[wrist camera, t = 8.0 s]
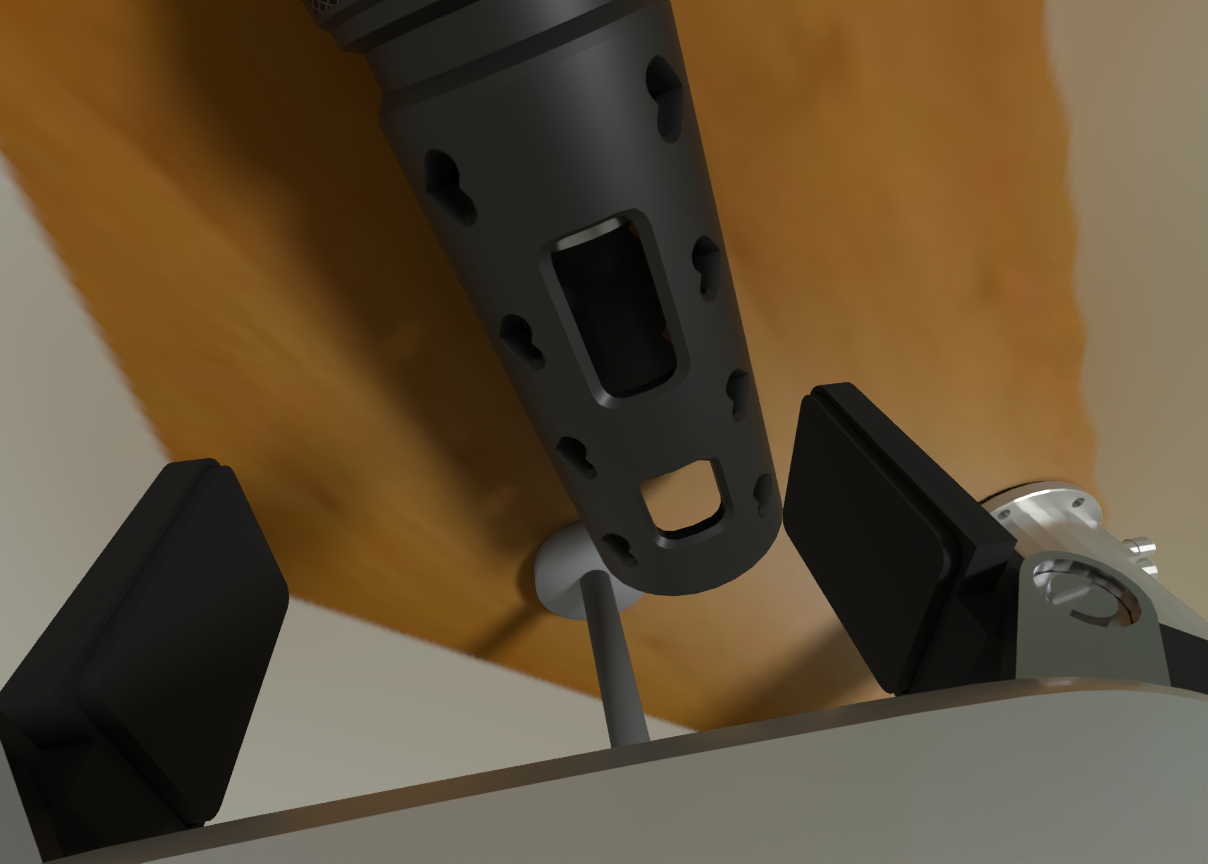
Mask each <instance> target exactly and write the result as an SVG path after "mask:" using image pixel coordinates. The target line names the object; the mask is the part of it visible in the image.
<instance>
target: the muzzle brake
mask: <svg viewBox="0 0 1208 864" xmlns="http://www.w3.org/2000/svg"><path fill="white" fill-rule="evenodd" d="M303 1H304V3H305V5H306V7H307V9H308V11H309V13H310V15H311V16H312V18H313V20H314V22H315V24H316V25H317V26H318V28H319V29H322V30H324V31H327V32H329V33H331V34H332V36H333V38H334V39H335V41H336V43H337V45H338V47H339V49H340V50H344V51H350V52H356V53H361V54H364V55H365V57H366V59H367V61H368V63H369V65H370V67H371V69H372V71H373V73H374V75H375V77H376V79H377V81H378V83H379V85H380V87H381V89H382V91H383V93H384V95H383V99H382V102H381V106H380V110H379V113H378V114H379V123H380V127H381V129H382V130H383V132H384V134H385V136H386V138H387V140H388V142H389V144H390V146H391V148H392V150H393V152H394V154H395V156H396V158H397V160H398V162H399V164H400V166H401V168H402V170H403V172H404V174H405V176H406V177H407V179H408V181H409V183H410V185H411V187H412V189H413V191H414V193H415V195H416V197H417V199H418V201H419V203H420V205H421V207H422V209H423V211H424V213H425V215H426V217H427V219H428V221H429V223H430V224H431V226H432V228H433V230H434V232H435V234H436V236H437V238H438V240H439V242H440V244H441V246H442V248H443V250H444V252H445V254H446V256H447V258H448V260H449V262H450V264H451V266H452V268H453V270H454V271H455V273H456V275H457V277H458V279H459V281H460V283H461V285H462V287H463V289H464V291H465V293H466V295H467V297H468V299H469V301H470V303H471V305H472V307H473V309H474V311H475V313H476V315H477V316H478V318H479V320H480V322H481V324H482V326H483V328H484V330H485V332H486V334H487V336H488V338H489V340H490V342H491V344H492V346H493V348H494V350H495V352H496V354H497V356H498V358H499V360H500V362H501V363H502V365H503V367H504V369H505V371H506V373H507V375H508V377H509V379H510V381H511V383H512V385H513V387H514V389H515V391H516V393H517V395H518V397H519V399H520V401H521V403H522V405H523V407H524V409H525V410H526V412H527V414H528V416H529V418H530V420H531V422H532V424H533V426H534V428H535V430H536V432H537V434H538V436H539V438H540V440H541V442H542V444H543V446H544V448H545V450H546V452H547V454H548V456H549V457H550V459H551V461H552V463H553V465H554V467H555V469H556V471H557V473H558V475H559V477H560V479H561V481H562V483H563V485H564V487H565V489H566V491H567V493H568V495H569V497H570V499H571V501H572V503H573V504H574V506H575V508H576V510H577V512H578V514H579V516H580V518H581V520H582V522H583V524H584V526H585V528H586V530H587V532H588V534H589V536H590V538H591V540H592V542H593V544H594V546H595V548H596V550H597V551H598V553H599V555H600V557H601V559H602V561H603V563H604V564H605V566H606V567H607V568H608V570H609V571H610V572H611V574H612V575H613V576H615V577H616V578H617V579H618V580H619V581H621V582H622V583H623V584H625V585H627V586H629V587H631V588H633V589H636V590H638V591H641V592H645V593H650V594H654V595H666V596H680V595H689V594H697V593H700V592H703V591H707V590H710V589H714V588H717V587H719V586H721V585H723V584H726V583H728V582H730V581H732V580H734V579H736V578H737V577H739V576H740V575H742V574H743V573H745V572H746V571H748V570H749V569H750V568H752V567H753V566H754V565H755V564H756V563H757V562H758V561H759V560H760V559H761V558H762V557H763V556H764V555H765V554H766V553H767V551H768V550H769V548H770V547H771V545H772V544H773V542H774V541H775V539H776V537H777V534H778V532H779V529H780V526H781V523H782V511H783V508H782V502H781V496H780V492H779V487H778V483H777V478H776V474H775V469H774V465H773V460H772V456H771V451H770V447H769V442H768V438H767V433H766V429H765V424H764V420H763V415H762V411H761V406H760V402H759V397H758V393H757V388H756V384H755V379H754V375H753V370H752V366H751V361H750V357H749V352H748V348H747V343H746V339H745V334H744V330H743V325H742V321H741V316H740V312H739V307H738V303H737V298H736V294H735V289H734V285H733V280H732V276H731V271H730V267H729V262H728V258H727V253H726V249H725V244H724V240H723V235H722V231H721V226H720V222H719V217H718V213H717V208H716V204H715V200H714V195H713V191H712V186H711V182H710V177H709V173H708V168H707V164H706V159H705V155H704V150H703V146H702V141H701V137H700V132H699V128H698V123H697V119H696V114H695V110H694V105H693V101H692V96H691V92H690V87H689V83H688V78H687V74H686V69H685V65H684V60H683V56H682V51H681V47H680V42H679V38H678V33H677V29H676V24H675V20H674V15H673V11H672V6H671V2H670V1H669V0H303ZM697 460H707V461H710V463H711V466H712V470H713V473H714V476H715V480H716V483H717V486H718V489H719V493H720V496H721V504H720V506H719V509H718V511H717V512H716V513H715V514H714V515H713V516H712V517H709V518H707V519H705V520H703V521H701V522H699V523H697V524H695V525H693V526H689V527H686V528H682V529H679V530H675V531H664V530H662V529H660V528H658V527H657V526H656V525H655V524H654V522H653V520H652V518H651V515H650V513H649V510H648V508H647V506H646V503H645V501H644V498H643V496H642V493H641V491H640V486H641V485H642V484H643V483H644V482H645V481H646V480H648V479H651V478H654V477H657V476H660V475H663V474H666V473H669V472H673V471H676V470H678V469H680V468H682V467H684V466H686V465H689V464H691V463H693V462H695V461H697Z"/></svg>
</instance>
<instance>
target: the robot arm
mask: <svg viewBox="0 0 1208 864" xmlns="http://www.w3.org/2000/svg"><path fill="white" fill-rule="evenodd" d="M782 516H783V524H784V528H785V530H786V532H787V534H788V536H789V538H790V539H791V541H792V543H793V544H794V546H795V548H796V549H797V551H798V552H799V554H800V556H801V557H802V559H803V561H804V562H805V564H806V566H807V567H808V569H809V570H810V572H811V574H812V575H813V577H814V579H815V580H816V582H817V584H818V585H819V587H820V588H821V590H822V592H823V593H824V595H825V597H826V598H827V600H828V602H829V603H830V605H831V606H832V608H833V610H834V611H835V613H836V615H837V616H838V618H839V620H840V621H841V623H842V624H843V626H844V628H845V629H846V631H847V633H848V634H849V636H850V638H851V639H852V641H853V643H854V644H855V646H856V647H857V649H858V651H859V652H860V654H861V656H862V657H863V659H864V661H865V662H866V664H867V665H868V667H869V669H870V670H871V672H872V674H873V675H874V677H875V679H876V680H877V682H878V683H879V685H880V686H881V688H882V689H883V690H884V691H885V692H887V693H889V694H891V693H894V694H895V696H896V697H892V698H886V699H880V700H874V701H867V702H862V703H856V704H851V705H845V706H840V707H834V708H829V709H823V710H818V711H812V712H807V713H801V714H796V715H790V716H785V717H779V718H774V719H768V720H763V721H757V722H752V723H746V724H741V725H735V726H730V727H724V728H719V729H713V730H708V731H702V732H697V733H691V734H686V735H680V736H675V737H670V738H664V739H659V740H654V741H648V742H643V743H637V744H632V745H627V746H621V747H616V748H611V749H605V750H600V751H595V752H589V753H584V754H579V755H573V756H568V757H563V758H558V759H552V760H547V761H541V762H536V763H530V764H525V765H520V766H515V767H509V768H505V769H499V770H493V771H489V772H483V773H477V774H472V775H467V776H461V777H456V778H451V779H446V780H440V781H435V782H430V783H425V784H420V785H415V786H409V787H404V788H399V789H394V790H388V791H383V792H378V793H373V794H368V795H363V796H357V797H353V798H347V799H342V800H337V801H331V802H326V803H321V804H316V805H310V806H306V807H300V808H295V809H290V810H285V811H280V812H274V813H269V814H264V815H259V816H253V817H248V818H243V819H239V820H234V821H229V822H224V823H219V824H214V825H210V826H205V827H204V824H205V821H210V820H212V819H213V818H214V817H215V816H216V814H217V813H218V811H219V809H220V807H221V804H222V801H223V798H224V795H225V792H226V790H227V787H228V784H229V781H230V778H231V775H232V772H233V769H234V766H235V763H236V760H237V757H238V754H239V751H240V748H241V745H242V742H243V739H244V736H245V733H246V730H247V727H248V724H249V721H250V718H251V715H252V712H253V709H254V706H255V703H256V700H257V697H258V694H259V692H260V688H261V686H262V682H263V679H264V677H265V674H266V671H267V668H268V665H269V662H270V659H271V656H272V653H273V650H274V647H275V644H276V641H277V638H278V635H279V632H280V629H281V626H282V623H283V620H284V617H285V614H286V611H287V608H288V604H289V592H288V587H287V584H286V582H285V579H284V577H283V575H282V573H281V571H280V569H279V567H278V565H277V563H276V560H275V558H274V556H273V554H272V552H271V550H270V548H269V546H268V543H267V541H266V539H265V537H264V535H263V533H262V531H261V529H260V526H259V524H258V522H257V520H256V518H255V516H254V514H253V512H252V509H251V507H250V505H249V503H248V501H247V499H246V497H245V495H244V492H243V490H242V488H241V486H240V484H239V482H238V480H237V478H236V475H235V473H234V472H233V470H232V469H231V468H230V467H229V466H226V465H225V466H220V464H219V463H218V462H217V461H216V460H215V459H212V458H206V459H197V460H189V461H181V462H173V463H169V464H167V465H166V466H165V467H164V468H163V470H162V471H161V472H160V473H159V475H158V476H157V478H156V479H155V480H154V482H153V483H152V484H151V486H150V487H149V489H148V490H147V491H146V493H145V494H144V495H143V497H142V498H141V499H140V501H139V502H138V504H137V505H136V506H135V508H134V509H133V511H132V512H131V513H130V515H129V516H128V517H127V519H126V520H125V521H124V523H123V524H122V525H121V527H120V528H119V530H118V531H117V532H116V534H115V535H114V536H113V538H112V539H111V541H110V542H109V543H108V545H107V546H106V548H105V549H104V550H103V552H102V553H101V554H100V556H99V557H98V558H97V560H96V561H95V562H94V564H93V565H92V567H91V568H90V569H89V571H88V572H87V573H86V575H85V576H84V578H83V579H82V580H81V582H80V583H79V584H78V586H77V587H76V589H75V590H74V591H73V593H72V594H71V595H70V597H69V598H68V599H67V601H66V602H65V604H64V605H63V607H62V608H61V609H60V610H59V612H58V613H57V615H56V616H55V617H54V619H53V620H52V621H51V623H50V624H49V625H48V627H47V628H46V630H45V631H44V632H43V634H42V635H41V636H40V638H39V639H38V641H37V642H36V643H35V645H34V646H33V647H32V649H31V650H30V651H29V653H28V654H27V656H26V657H25V658H24V660H23V661H22V662H21V664H20V665H19V667H18V668H17V669H16V671H15V672H14V673H13V675H12V676H11V677H10V679H9V680H8V682H7V683H6V684H5V686H4V687H3V689H2V690H1V691H0V864H1208V622H1207V621H1206V620H1205V619H1203V618H1202V617H1201V616H1200V615H1198V614H1197V613H1196V612H1195V611H1194V610H1192V609H1191V608H1190V607H1189V606H1188V605H1186V604H1185V603H1184V602H1183V601H1181V600H1180V599H1179V598H1178V597H1176V596H1175V595H1174V594H1173V593H1171V592H1170V591H1169V590H1168V589H1167V588H1165V587H1164V586H1163V585H1162V584H1160V583H1159V582H1158V581H1157V580H1156V579H1157V576H1158V571H1157V568H1156V566H1155V565H1154V564H1153V562H1152V561H1151V560H1149V559H1147V558H1146V557H1151V556H1152V555H1154V554H1155V551H1156V547H1155V544H1154V543H1153V542H1152V541H1151V540H1150V539H1149V538H1146V537H1138V538H1132V539H1126V540H1124V541H1120V540H1118V539H1117V538H1116V537H1115V536H1113V535H1112V534H1111V533H1109V532H1108V531H1107V530H1106V529H1105V528H1103V527H1102V511H1101V508H1100V506H1099V504H1098V502H1097V500H1095V499H1094V498H1093V497H1092V496H1091V495H1089V494H1088V493H1087V492H1086V491H1084V490H1083V489H1081V488H1080V487H1078V486H1076V485H1074V484H1071V483H1066V482H1062V481H1045V482H1039V483H1032V484H1028V485H1024V486H1021V487H1018V488H1014V489H1012V490H1009V491H1007V492H1005V493H1002V494H1000V495H998V496H996V497H994V498H992V499H990V500H989V501H987V502H985V503H983V504H981V505H980V504H979V503H978V502H977V501H976V500H975V499H974V498H973V497H972V496H971V495H970V494H968V493H967V492H966V491H965V490H964V489H963V488H962V487H961V486H960V485H959V484H958V483H957V482H956V481H955V480H954V479H953V478H952V477H950V476H949V475H948V474H947V473H946V472H945V471H944V470H943V469H942V468H941V467H940V466H939V465H938V464H937V463H936V462H935V461H934V460H933V459H931V458H930V457H929V456H928V455H927V454H926V453H925V452H924V451H923V450H922V449H921V448H920V447H919V446H918V445H917V444H916V443H915V442H913V441H912V440H911V439H910V438H909V437H908V436H907V435H906V434H905V433H904V432H903V431H902V430H901V429H900V428H899V427H898V426H897V425H895V424H894V423H893V422H892V421H891V420H890V419H889V418H888V417H887V416H886V415H885V414H884V413H883V412H882V411H881V410H880V409H879V408H877V407H876V406H875V405H874V404H873V403H872V402H871V401H870V400H869V399H868V398H867V397H866V396H865V395H864V394H863V393H862V392H861V391H860V390H858V389H857V388H856V387H855V386H854V385H853V384H851V383H850V382H844V383H835V384H827V385H818V386H816V387H814V388H813V389H812V391H811V393H810V395H806V396H805V397H804V398H803V399H802V402H801V407H800V413H799V419H798V425H797V431H796V437H795V442H794V448H793V454H792V460H791V466H790V472H789V478H788V484H787V490H786V496H785V501H784V507H783V515H782Z"/></svg>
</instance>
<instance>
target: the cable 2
mask: <svg viewBox="0 0 1208 864" xmlns="http://www.w3.org/2000/svg"><path fill="white" fill-rule="evenodd" d="M534 576H535V585H536V592H537V596H538V598H539V600H540V601H541V603H542V604H543V605H544V606H545V607H546V608H547V609H548V610H549V611H551V612H552V613H554V614H556V615H558V616H561V617H564V618H568V619H574V620H587V623H588V628H589V633H590V638H591V644H592V649H593V654H594V659H595V665H596V670H597V675H598V680H599V686H600V691H601V696H602V701H603V706H604V712H605V717H606V722H607V727H608V732H609V738H610V743H611V748H616V747H621V746H627V745H632V744H637V743H643V742H648V741H650V738H649V735H648V730H647V726H646V722H645V718H644V714H643V710H642V706H641V702H640V697H639V693H638V689H637V685H636V681H635V677H634V673H633V669H632V665H631V661H630V657H629V653H628V649H627V645H626V641H625V637H624V633H623V629H622V625H621V621H620V617H619V612H621V611H623V610H625V609H626V608H628V607H629V606H631V605H632V604H634V603H635V602H636V601H637V600H638V599H639V598H640V597H641V596H642V595H643V594H644V593H645V592H641V591H638V590H636V589H633V588H631V587H629V586H627V585H625V584H623V583H622V582H621V581H619V580H618V579H617V578H616V577H615V576H613V575H612V574H611V572H610V571H609V570H608V568H607V567H606V566H605V564H604V563H603V561H602V559H601V557H600V555H599V553H598V551H597V550H596V548H595V546H594V544H593V542H592V540H591V538H590V536H589V534H588V532H587V530H586V528H585V526H584V524H583V522H582V521H579V522H576V523H573V524H570V525H568V526H565V527H563V528H562V529H560V530H558V531H557V532H555V533H554V534H552V535H551V536H550V537H549V538H548V539H547V540H546V541H545V542H544V543H543V544H542V545H541V547H540V548H539V550H538V552H537V554H536V557H535V560H534Z"/></svg>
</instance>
